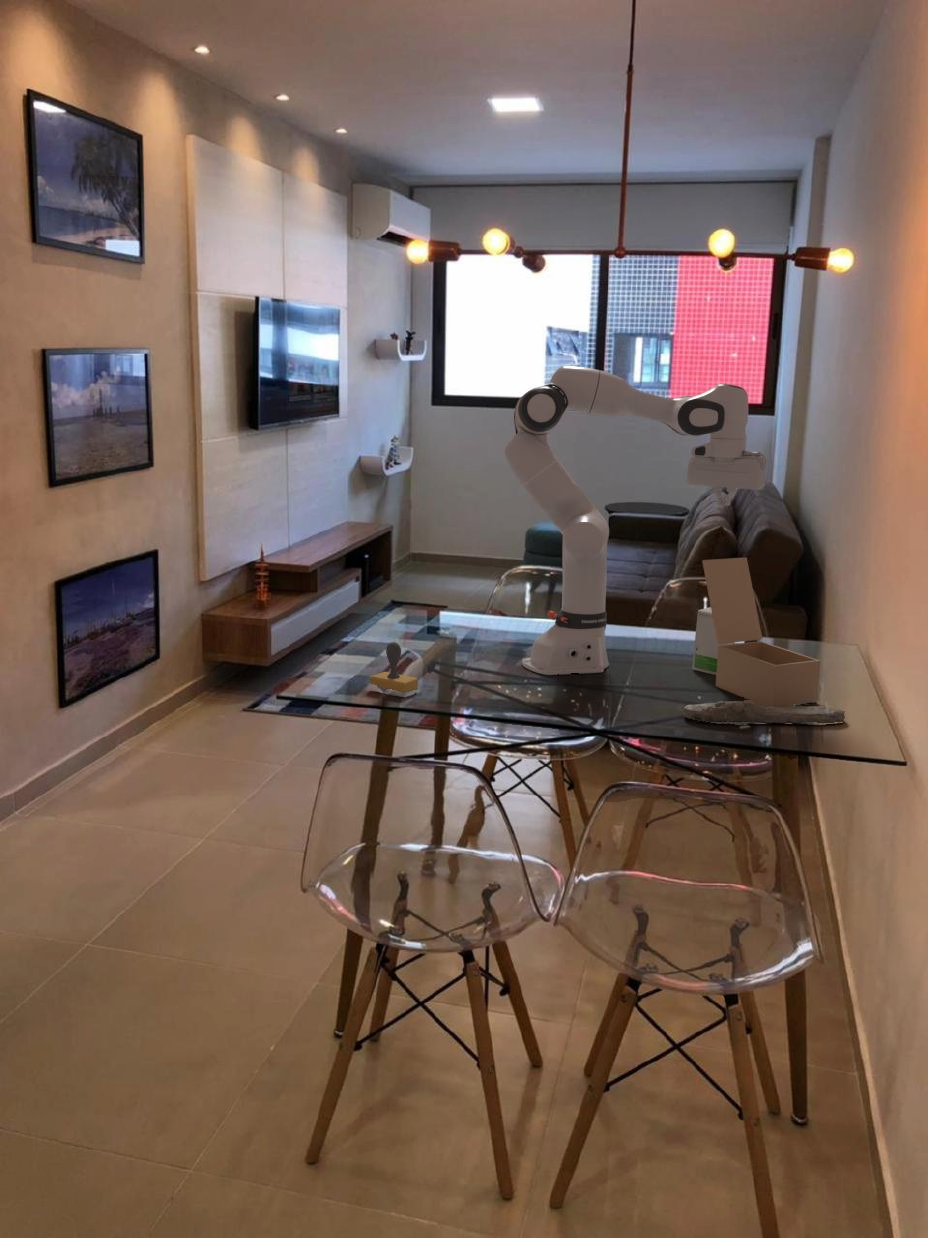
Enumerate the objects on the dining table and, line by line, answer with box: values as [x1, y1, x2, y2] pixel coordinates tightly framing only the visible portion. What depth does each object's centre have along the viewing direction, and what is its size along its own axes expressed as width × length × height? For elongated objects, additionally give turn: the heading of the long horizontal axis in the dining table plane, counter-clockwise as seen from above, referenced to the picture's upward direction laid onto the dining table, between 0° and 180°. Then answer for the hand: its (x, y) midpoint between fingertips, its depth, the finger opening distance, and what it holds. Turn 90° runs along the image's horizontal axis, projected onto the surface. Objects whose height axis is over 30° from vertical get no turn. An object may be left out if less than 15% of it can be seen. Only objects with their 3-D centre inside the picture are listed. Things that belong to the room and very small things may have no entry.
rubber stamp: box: [369, 641, 419, 693], centre depth 246 cm, size 10×6×12 cm, turn 57°
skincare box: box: [691, 606, 736, 676], centre depth 269 cm, size 8×7×16 cm
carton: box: [715, 640, 821, 705], centre depth 250 cm, size 13×20×10 cm, turn 25°
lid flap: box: [702, 557, 763, 644], centre depth 259 cm, size 13×20×1 cm
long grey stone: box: [682, 699, 846, 724], centre depth 231 cm, size 35×5×10 cm
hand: (723, 505), depth 271 cm, fingers closed
